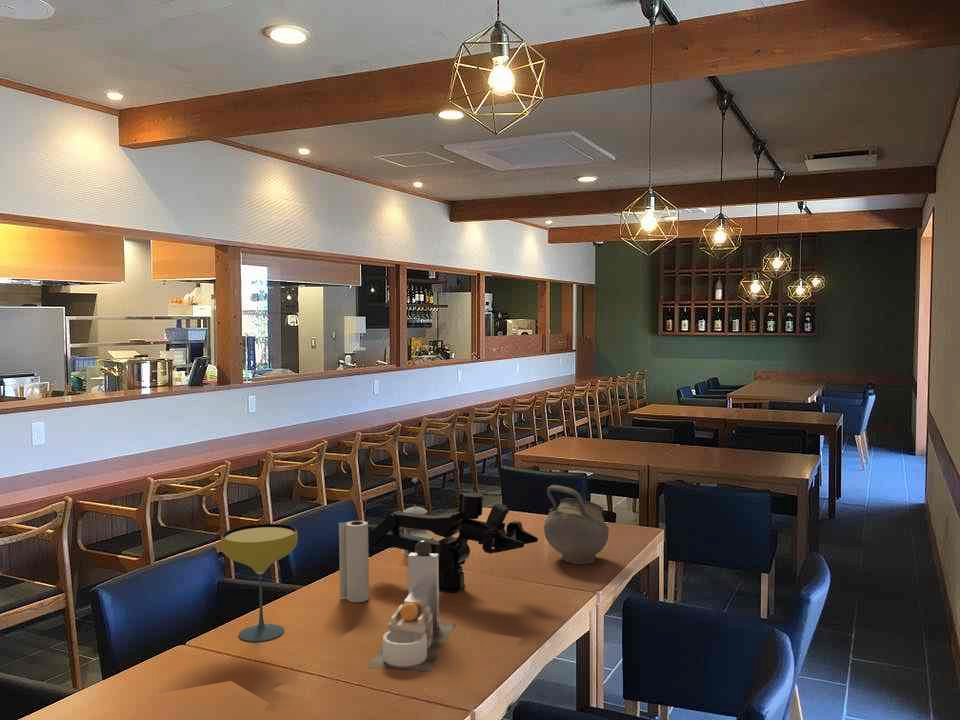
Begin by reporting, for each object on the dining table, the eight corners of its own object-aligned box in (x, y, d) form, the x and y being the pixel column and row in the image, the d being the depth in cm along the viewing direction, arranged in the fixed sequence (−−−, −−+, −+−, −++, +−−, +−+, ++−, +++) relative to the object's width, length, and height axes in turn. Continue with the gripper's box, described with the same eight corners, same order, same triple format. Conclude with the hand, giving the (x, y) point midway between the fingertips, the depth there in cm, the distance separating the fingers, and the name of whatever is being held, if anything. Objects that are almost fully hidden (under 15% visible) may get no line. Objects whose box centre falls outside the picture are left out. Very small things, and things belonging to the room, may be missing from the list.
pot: (564, 573, 238) (563, 491, 237) (532, 555, 256) (532, 479, 255) (621, 564, 246) (621, 485, 245) (587, 548, 265) (586, 474, 264)
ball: (397, 622, 177) (397, 604, 177) (406, 616, 181) (405, 599, 181) (412, 624, 176) (412, 607, 175) (421, 618, 179) (421, 601, 179)
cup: (375, 662, 172) (374, 640, 172) (397, 646, 181) (397, 625, 181) (413, 670, 168) (413, 647, 168) (434, 653, 177) (434, 631, 177)
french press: (436, 551, 263) (435, 476, 262) (415, 559, 253) (414, 482, 252) (412, 546, 268) (412, 474, 267) (391, 555, 258) (390, 479, 257)
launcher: (400, 624, 197) (400, 586, 197) (455, 627, 195) (454, 589, 195) (366, 673, 170) (366, 629, 169) (429, 677, 168) (429, 632, 167)
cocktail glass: (219, 626, 197) (217, 528, 196) (292, 615, 205) (290, 520, 204) (226, 653, 181) (224, 546, 180) (305, 640, 188) (303, 537, 187)
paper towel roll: (373, 599, 217) (372, 522, 216) (356, 604, 212) (354, 526, 211) (357, 593, 221) (356, 518, 221) (340, 598, 217) (338, 522, 216)
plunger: (412, 622, 195) (411, 537, 194) (439, 623, 194) (438, 538, 193) (398, 643, 182) (397, 553, 181) (427, 645, 181) (426, 554, 180)
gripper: (467, 506, 211) (519, 517, 204) (497, 499, 228) (547, 508, 221) (463, 547, 211) (515, 559, 204) (493, 537, 228) (543, 548, 221)
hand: (530, 542), depth 212 cm, fingers open, 9 cm apart
